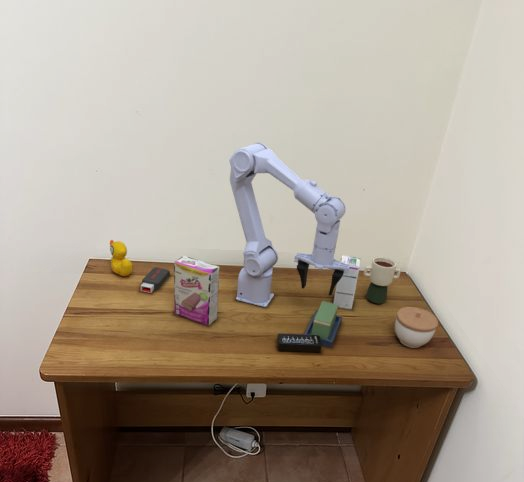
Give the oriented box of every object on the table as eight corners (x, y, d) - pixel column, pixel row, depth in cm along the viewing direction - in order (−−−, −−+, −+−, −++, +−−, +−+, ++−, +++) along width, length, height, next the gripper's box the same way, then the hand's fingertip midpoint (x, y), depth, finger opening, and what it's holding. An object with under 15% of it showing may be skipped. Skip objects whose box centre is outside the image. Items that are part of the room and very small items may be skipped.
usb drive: (170, 275, 152) (169, 268, 151) (154, 294, 142) (154, 286, 141) (154, 272, 153) (154, 265, 152) (137, 291, 143) (137, 282, 142)
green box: (319, 318, 138) (322, 300, 135) (334, 322, 137) (338, 304, 134) (310, 337, 130) (313, 318, 127) (327, 341, 129) (330, 323, 126)
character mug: (390, 295, 154) (399, 258, 147) (395, 307, 148) (405, 269, 141) (356, 292, 153) (364, 255, 147) (359, 304, 147) (368, 266, 141)
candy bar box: (173, 315, 134) (172, 261, 125) (183, 306, 138) (183, 254, 129) (208, 327, 130) (210, 273, 122) (218, 318, 134) (220, 265, 126)
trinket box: (424, 358, 127) (434, 328, 122) (385, 342, 131) (392, 313, 126) (435, 339, 135) (444, 310, 130) (397, 325, 139) (405, 297, 134)
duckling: (104, 267, 154) (102, 238, 148) (121, 263, 157) (118, 234, 151) (121, 282, 146) (118, 252, 141) (137, 278, 149) (135, 248, 144)
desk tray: (303, 340, 129) (304, 334, 128) (315, 315, 140) (315, 310, 139) (331, 347, 127) (332, 342, 126) (341, 322, 138) (342, 316, 137)
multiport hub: (276, 340, 128) (277, 333, 126) (318, 342, 128) (319, 335, 127) (278, 350, 124) (279, 343, 123) (320, 352, 125) (322, 345, 123)
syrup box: (351, 310, 144) (361, 266, 137) (331, 306, 145) (340, 262, 137) (352, 300, 149) (361, 257, 142) (333, 297, 150) (341, 254, 142)
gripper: (293, 244, 125) (287, 290, 132) (349, 257, 121) (340, 303, 129) (301, 234, 131) (294, 279, 138) (354, 246, 127) (345, 291, 134)
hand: (317, 290), depth 134 cm, fingers open, 7 cm apart
